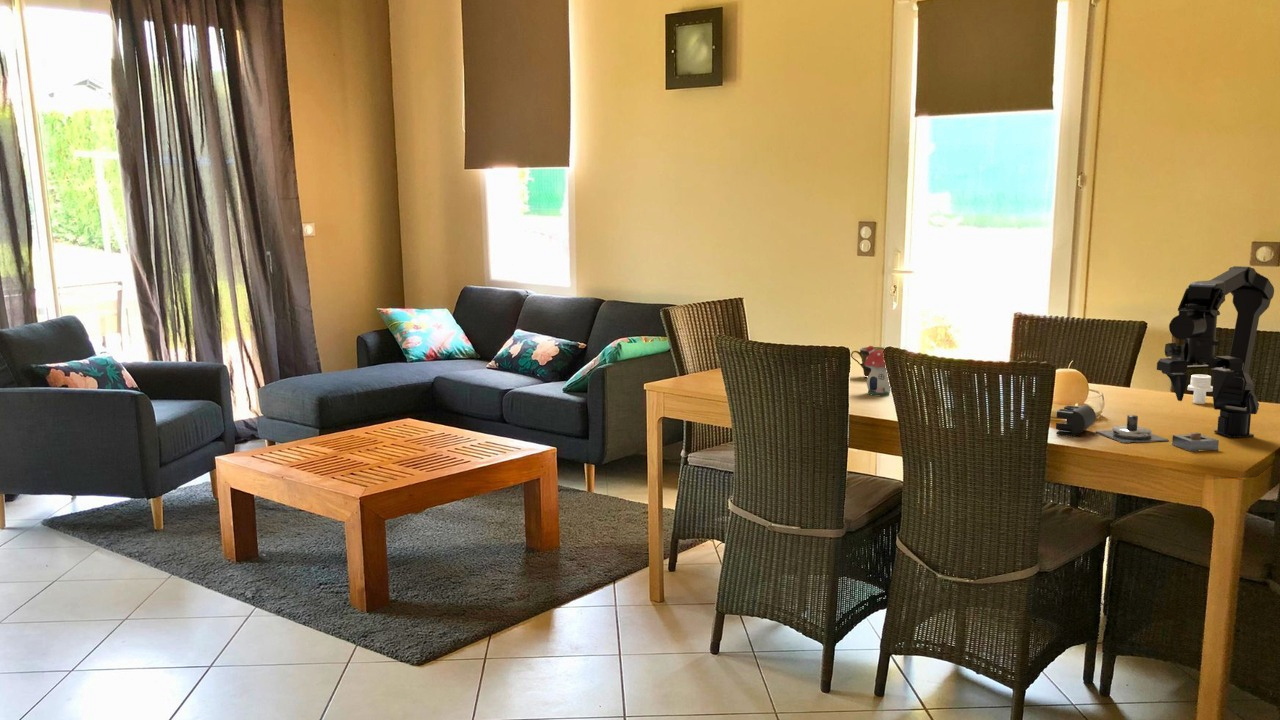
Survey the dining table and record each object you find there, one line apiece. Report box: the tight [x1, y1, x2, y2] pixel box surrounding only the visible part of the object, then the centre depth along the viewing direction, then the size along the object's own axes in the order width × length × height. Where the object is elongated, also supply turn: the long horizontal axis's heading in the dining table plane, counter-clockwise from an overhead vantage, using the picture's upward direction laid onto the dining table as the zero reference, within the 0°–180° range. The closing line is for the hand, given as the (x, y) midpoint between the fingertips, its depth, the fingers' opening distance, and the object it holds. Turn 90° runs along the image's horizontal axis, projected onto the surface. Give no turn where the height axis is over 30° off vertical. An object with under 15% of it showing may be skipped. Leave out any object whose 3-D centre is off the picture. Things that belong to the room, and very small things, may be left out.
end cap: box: [1055, 404, 1097, 437], centre depth 262 cm, size 10×7×7 cm
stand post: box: [1190, 431, 1202, 440], centre depth 245 cm, size 2×2×4 cm
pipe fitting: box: [1187, 374, 1213, 405], centre depth 297 cm, size 6×7×8 cm
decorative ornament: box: [865, 345, 891, 396], centre depth 317 cm, size 9×7×15 cm
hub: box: [1095, 414, 1170, 444], centre depth 257 cm, size 12×12×5 cm
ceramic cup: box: [850, 346, 885, 376], centre depth 347 cm, size 13×10×10 cm
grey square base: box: [1171, 433, 1220, 452], centre depth 245 cm, size 7×7×2 cm
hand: (1197, 400), depth 244 cm, fingers open, 9 cm apart
